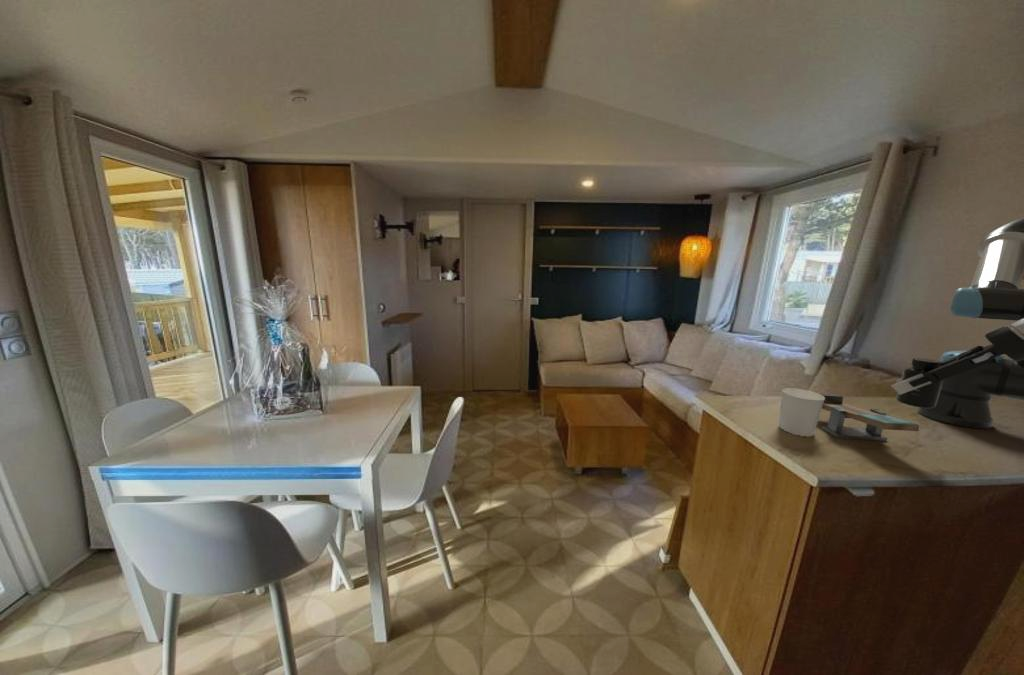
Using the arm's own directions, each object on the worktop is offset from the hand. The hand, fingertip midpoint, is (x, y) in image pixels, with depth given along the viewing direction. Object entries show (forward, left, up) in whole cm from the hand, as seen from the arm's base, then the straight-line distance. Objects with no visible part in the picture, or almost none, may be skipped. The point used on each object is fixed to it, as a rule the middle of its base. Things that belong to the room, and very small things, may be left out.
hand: (898, 387), depth 90 cm
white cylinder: (+18, -7, -18) cm, 26 cm away
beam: (+2, -7, -12) cm, 14 cm away
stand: (+2, -7, -18) cm, 19 cm away
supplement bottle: (-2, +3, -4) cm, 5 cm away
